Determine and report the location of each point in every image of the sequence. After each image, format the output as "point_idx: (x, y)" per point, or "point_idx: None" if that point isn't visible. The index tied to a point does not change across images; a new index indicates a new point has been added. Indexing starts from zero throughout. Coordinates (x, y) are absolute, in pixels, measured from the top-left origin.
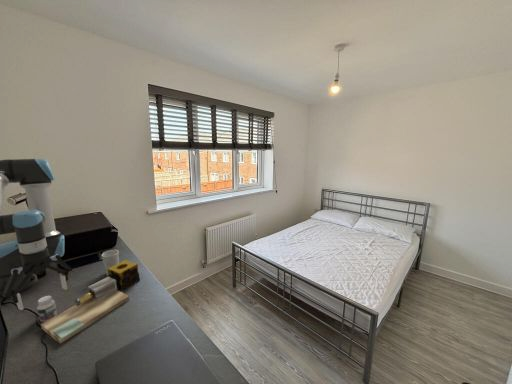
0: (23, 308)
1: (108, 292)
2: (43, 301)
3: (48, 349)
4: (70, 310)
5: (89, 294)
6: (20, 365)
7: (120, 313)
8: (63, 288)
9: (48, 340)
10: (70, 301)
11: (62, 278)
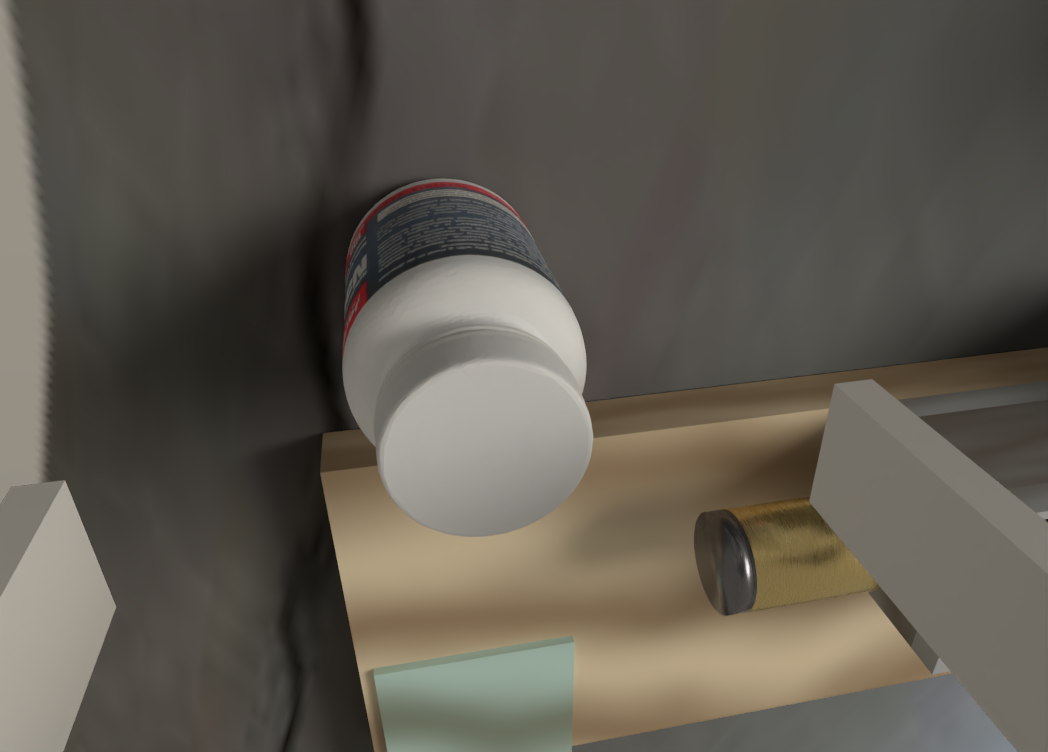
0: (109, 619)
1: None
2: (441, 526)
3: (300, 729)
4: (621, 479)
5: (871, 590)
6: (111, 748)
7: (786, 725)
8: (827, 443)
9: (326, 643)
10: (751, 138)
11: (1025, 708)
